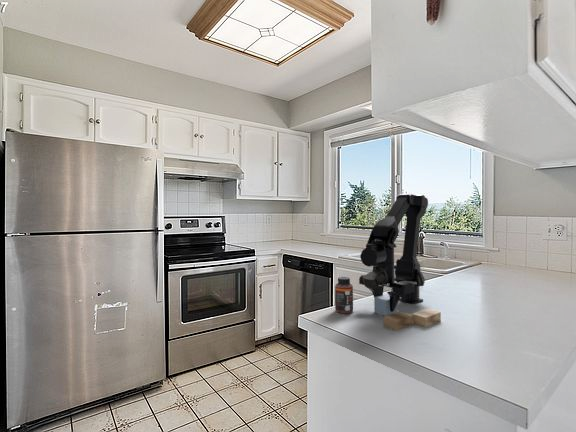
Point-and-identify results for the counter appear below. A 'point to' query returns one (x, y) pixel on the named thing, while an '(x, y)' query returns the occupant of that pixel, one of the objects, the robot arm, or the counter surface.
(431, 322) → the brick
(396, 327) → the base brick
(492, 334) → the counter surface
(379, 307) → the cube
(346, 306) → the supplement bottle
